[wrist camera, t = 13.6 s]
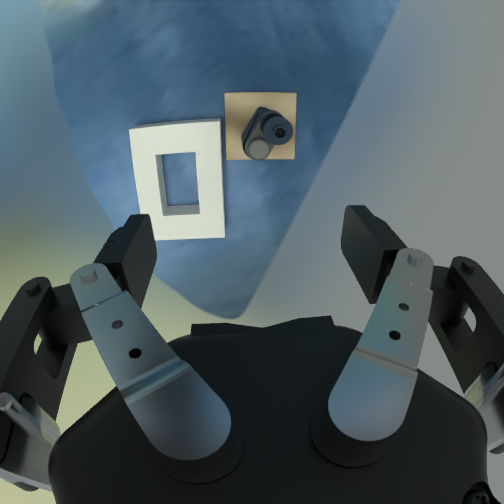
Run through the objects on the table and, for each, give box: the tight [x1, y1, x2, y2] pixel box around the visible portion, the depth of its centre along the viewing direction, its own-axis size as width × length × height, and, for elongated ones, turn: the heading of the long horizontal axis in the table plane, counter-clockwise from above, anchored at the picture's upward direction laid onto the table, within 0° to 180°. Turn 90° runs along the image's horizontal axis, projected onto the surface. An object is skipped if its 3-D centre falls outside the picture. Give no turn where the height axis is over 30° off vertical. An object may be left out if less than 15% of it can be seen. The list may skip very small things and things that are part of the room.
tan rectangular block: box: [225, 92, 296, 160], centre depth 33 cm, size 8×8×1 cm
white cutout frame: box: [129, 118, 225, 240], centre depth 34 cm, size 14×10×3 cm
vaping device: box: [241, 106, 293, 161], centre depth 27 cm, size 3×5×12 cm, turn 150°
